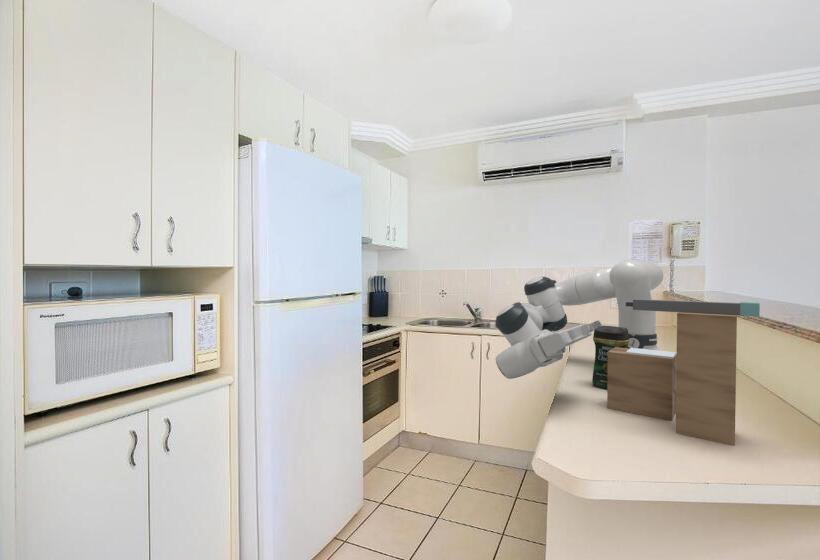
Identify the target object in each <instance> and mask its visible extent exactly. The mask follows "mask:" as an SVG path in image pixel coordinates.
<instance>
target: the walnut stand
mask: <svg viewBox="0 0 820 560" xmlns="http://www.w3.org/2000/svg"><path fill="white" fill-rule="evenodd" d="M737 323H738V315H722V314H702V313H683V312H676V352H677V354H676V355H675V357H674V358H673V359H670V358H661V357H653V356H644V355H635V354H626V351H627V350H629V349H627V348H618V347H615V348H613V349H611V350H610V351H608V384H607V389H606V390H607V392H606V393H607V394H606V395H607V401H606V404H607V405H606V406H607V409H612V410H616V411H621V412H625V411H626V412H625V413H630V412H632V413H631V414H635V413H636V415H642V416H646V417H651V418H657V419H660V420H667V421H673V419H674V418H675V434H680V435H684V436H689V437H692V438H693V437H694V438H697V439H703V440H707V441H712V442H717V443H722V444H726V445H732V446H736V399H737V398H736V397H737V396H736V395H737V393H736V391H737V389H736V388H737V386H736V385H737V338H738V337H737V332H738V331H737V327H738V324H737Z"/></svg>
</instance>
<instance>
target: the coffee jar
mask: <svg viewBox="0 0 820 560" xmlns="http://www.w3.org/2000/svg"><path fill="white" fill-rule="evenodd" d="M592 340H593V343H594V348H595V354H594V355H595V356H594V363H593V371H592V380H591V381H592V385H593V386H595V387H598V388H601V389H606V390H607V384H608V351H610V350H611V349H613V348H615V347H618V348H627V346H628V344H629V333H628V329H627V328H622V327H619V326H613V325H602V326H601V327H599V328H597V329H595V330H594V331H593V335H592Z"/></svg>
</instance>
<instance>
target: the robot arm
mask: <svg viewBox="0 0 820 560" xmlns="http://www.w3.org/2000/svg"><path fill="white" fill-rule="evenodd" d="M663 279H664V272H663V270H662V268H661V267H660V266H659V265H658V264H656V263H655V262H652V261H650V260H645V259H644V260H642V259H625V260H622V261H620V262H618V263H616V264H614V265H613V266H612V267H607V268H601V269H597V270H593V271H590V272H589V271H588V272H585V273H582V274H578V275H575V276H572V277H569V278H568V279H567V278H566V279H565V280H563V281H561V282H559V283H557V281H556V280H555V279H551V278H549V277H547V276H537V277H533V278H531V279H530V280H528V281H527V282H526V283H525V285H523V286H524V287H523V290H524V294H525V296H526V298H527V301H528V303H527V302H524V303H523V302H522V303H521V302H520V301H519V302H517V301H516V302H514V303H513V304H510V305H508V306H506V307H504V308H503V309H502V310H501V311H499V313H498V314H497V315H496V317H495V327H496V329H498V331H499V332H500V333H501V334H502V335H503V336H504V338H505V339H506V341H508V343H509V345H510V347H507V348H506V349H504V350H503V351H502V352H500V353H499V354H498V355H496V357H495V365H496V366H497V368H498V370H499V372H500V373H501V374H502V375H503V377H504V378H506V379H509V380H512V379H516V378H517V379H518V378H520V377H523V376H526V375H529V374H531V373H533V372H535V371H536V370H537V369H539V368H544V367H548V366H550V365H552V364H554V363H557V362H558V361H561V360H562V359H563V358H564V354H565V353H566V350H567V348H566V347H568V346H570V345H573V344H575V343H578V342H580V341H583V340H584V339H586V338H589V337H591V336H593V335H592V334H593V333H592V332H594V330H595V329H597V328H599V327H601V326H603V324H602V322H601V321H600V320H599V319H598V320H595V321H593V322H590V323H582V324H579V325H575V326H573V327H569V328H566V329H563V328H565V327H566V326H567V324H568V316H567V314H566V312H565V309H564V306H581V305H586V304H591V303H595V302H601V301H606V300H610V299H616V302H617V311H618V327H622V328H627V329H628V333H629V344H628V346H627V349H630V348H638V349H648V350H658V351H661V349H660V348H658V346H657V344H658V336H657V335H658V334H657V333H656V323H657V322H656V312H657V311H645V310H633V307H629V306H626V302H633V300H634V299H644V300H653V299H652V295H651V291H653V290H655V289H657V288H658V287H659V286H660V285H661V284H662V282H663Z"/></svg>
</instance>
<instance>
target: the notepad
mask: <svg viewBox="0 0 820 560" xmlns="http://www.w3.org/2000/svg"><path fill="white" fill-rule="evenodd" d="M626 354H635V355H644V356H653V357H661V358H670V359H673V358H674V357H675V355H676V354H677V351H666V350H660V351H658V350H648V349H638V348H630V349H629V350H627V351H626Z"/></svg>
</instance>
